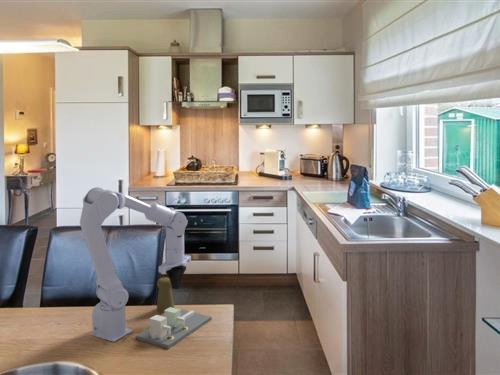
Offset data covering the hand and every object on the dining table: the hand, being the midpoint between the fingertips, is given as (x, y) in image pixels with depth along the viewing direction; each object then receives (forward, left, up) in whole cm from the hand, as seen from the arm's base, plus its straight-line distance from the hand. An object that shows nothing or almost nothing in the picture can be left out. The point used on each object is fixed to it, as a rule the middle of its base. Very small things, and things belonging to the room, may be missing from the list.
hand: (175, 288), depth 149 cm
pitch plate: (+6, -8, -9) cm, 14 cm away
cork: (-6, +2, -10) cm, 12 cm away
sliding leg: (+7, -9, -8) cm, 14 cm away
